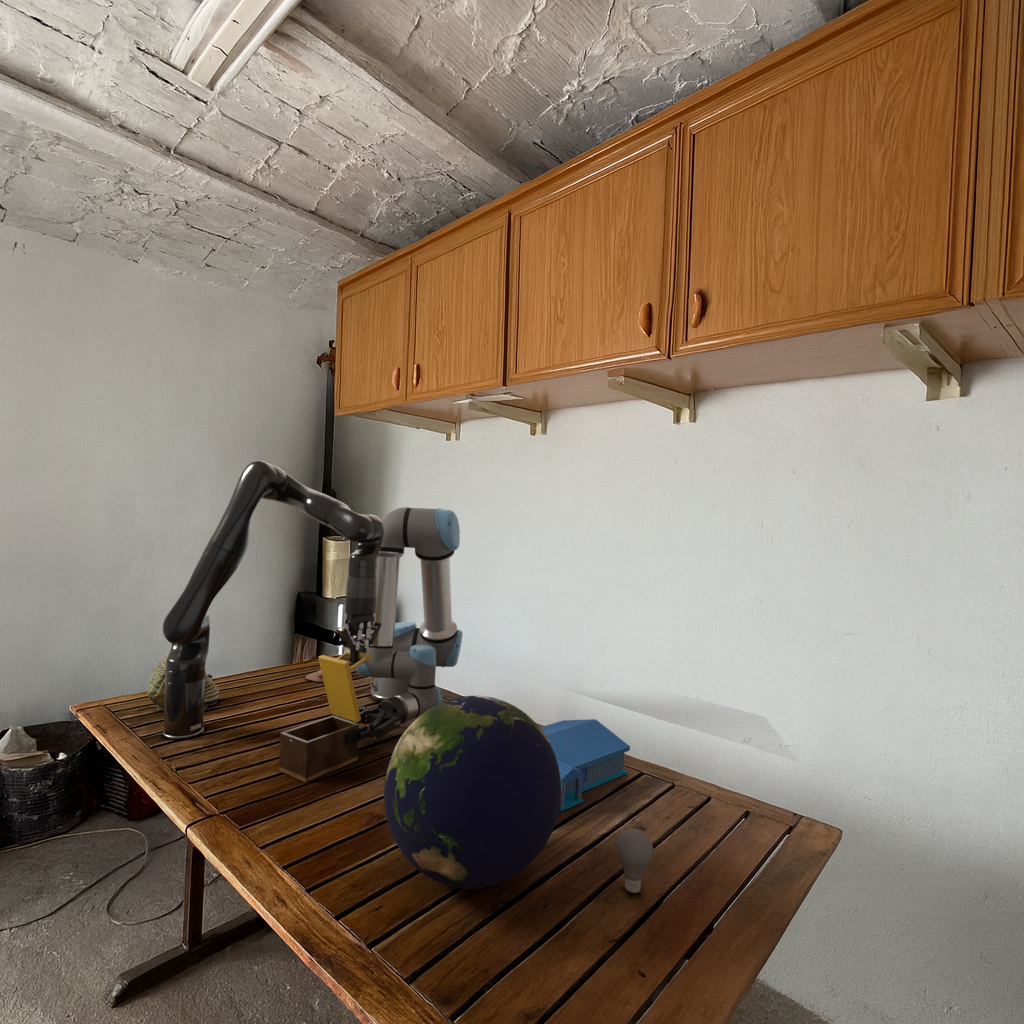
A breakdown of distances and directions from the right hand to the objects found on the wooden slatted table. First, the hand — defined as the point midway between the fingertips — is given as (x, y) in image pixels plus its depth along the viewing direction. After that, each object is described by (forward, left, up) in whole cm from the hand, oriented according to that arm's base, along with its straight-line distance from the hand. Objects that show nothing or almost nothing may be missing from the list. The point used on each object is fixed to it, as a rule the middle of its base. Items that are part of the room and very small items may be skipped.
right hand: (331, 734), depth 152 cm
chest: (+3, -1, -6) cm, 7 cm away
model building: (-1, +51, -6) cm, 52 cm away
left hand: (-7, +3, +16) cm, 17 cm away
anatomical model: (-64, -30, -6) cm, 71 cm away
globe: (+38, +42, -6) cm, 57 cm away
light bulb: (+37, +70, -6) cm, 79 cm away
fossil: (-25, -57, -6) cm, 62 cm away
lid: (-1, +1, +10) cm, 11 cm away
